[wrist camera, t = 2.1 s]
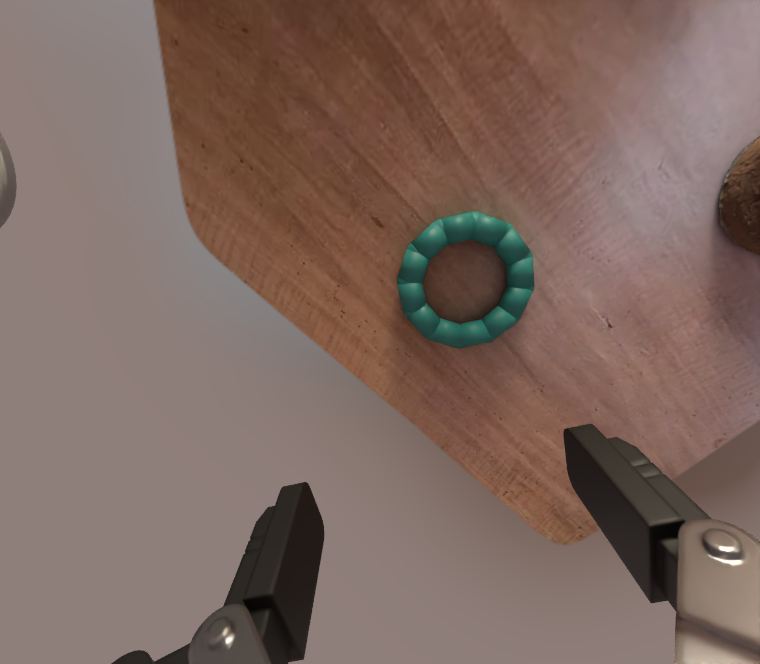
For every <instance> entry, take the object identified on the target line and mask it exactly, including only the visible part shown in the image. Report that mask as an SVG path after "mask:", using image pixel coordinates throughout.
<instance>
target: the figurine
mask: <svg viewBox="0 0 760 664" xmlns="http://www.w3.org/2000/svg"><path fill="white" fill-rule="evenodd" d="M725 177H726V178H724V181H725V182H724V185H723V187H722V189H721V193H720V194H721V195H720V198H719V205H720V208H719V209H720V220H719V222H720V224H721V225H722V226H723V228H724V229H725V231H726V232H727V233H728V235H729V236H730V238H731V240H733V242H734V243H736V244H737V245H738V246H741V247H743V248H745V249H746V250H749V251H751V252H754V253H756V254H758V255H760V137H759V138H757V139H756V140H754V142H753V143H751V144H750V145H749V146H748V147H747V148H745V149H744V150H743V151H742V153H740V154H739V156H738V157H737V159H735V161H734V162H733V166H732V168H731V169H730V170H728V174H726V175H725Z"/></svg>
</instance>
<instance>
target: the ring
mask: <svg viewBox="0 0 760 664" xmlns="http://www.w3.org/2000/svg"><path fill="white" fill-rule="evenodd" d="M470 239H472V240H475V241H478V242H481V243H484V244H486V245H489V246H492V247H493V248H494V250H495V251H496V252H497V253H498V255H499V256H500V257H501V258H502V260H503V261H504V262H505V265H506V275H507V287H506V289H505V292H504V294H503V296H502V299H501V301H500V303H499V305H498V306H497V307H496V308H495V309H493V310H492V311H491V312H490V313H488V314H487V315H486V316H485V317H483V318H482V319H481V320H477V321H472V322H467V323H462V324H458V323H455V322H452V321H448V320H445V319H442V318H439V317H438V315H437V314H436V313H435V312H434V311H433V310H432V309H431V308H430V306H429V305H428V304H427V303H426V299H425V294H424V288H423V283H422V281H423V278H424V276H425V273H426V270H427V267H428V265H429V262H430V260H431V259H432V258H433V257H434V256H435V255H436V254H438V253H439V252H440V251H441V250H442V249H443V248H444V247H446V246H447V245H448V244H452V243H456V242H461V241H466V240H470ZM397 286H398V290H399V295H400V300H401V305H402V310H403V313H404V315H405V316H406V318H407V319H408V320H409V321H410V322H411V323H412V324H413V325H414V326H415V327H416V328H417V329H418V331H419V332H420V333H421V334H422V335H423V336H424V337H425V338H427V339H429V340H432V341H435V342H438V343H442V344H445V345H448V346H451V347H455V348H463V347H469V346H474V345H479V344H484V343H489V342H492V341H494V340H495V339H496V338H497V337H499V336H500V335H501V334H503V333H504V332H505V331H506V330H508V329H509V328H510V327H512V326H513V325H514V324H515V323H517V322H518V321H519V320H520V318H521V316H522V314H523V312H524V310H525V308H526V306H527V303H528V301H529V299H530V297H531V295H532V293H533V290H534V273H533V260H532V253H531V251H530V249H529V248H528V246H527V245H526V244H525V243H524V241H523V240H522V239H521V237H520V236H519V235H518V233H517V232H516V231H515V229H514V228H513V227H512V225H511V224H509V223H507V222H505V221H502V220H499V219H496V218H493V217H490V216H488V215H485V214H482V213H479V212H475V211H473V212H468V213H463V214H458V215H454V216H449V217H445V218H440V219H438V220H436V221H434V222H433V223H432V224H431V225H430V226H429V227H428V228H427V229H425V230H424V231H423V232H422V233H421V234H420V235H419V236H418V237H417V238H415V239H414V240H413V241H412V242H411V243H410V244H409V246H408V248H407V250H406V253H405V256H404V259H403V262H402V265H401V268H400V271H399V274H398V277H397Z"/></svg>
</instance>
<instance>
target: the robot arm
mask: <svg viewBox="0 0 760 664" xmlns="http://www.w3.org/2000/svg"><path fill="white" fill-rule="evenodd" d="M564 444H565V453H566V463H567V471H568V475H569V479H570V481H571V484H572V486H573V488H574V490H575V492H576V493H577V495H578V496H579V498H580V499H581V501H582V502H583V504H584V505H585V507H586V508H587V510H588V511H589V513H590V514H591V516H592V517H593V518H594V520H595V521H596V523H597V524H598V526H599V527H600V529H601V530H602V532H603V533H604V535H605V536H606V538H607V539H608V541H609V542H610V543H611V545H612V546H613V548H614V549H615V551H616V552H617V554H618V555H619V557H620V558H621V560H622V561H623V563H624V564H625V566H626V567H627V569H628V570H629V572H630V573H631V574H632V576H633V577H634V579H635V580H636V582H637V583H638V585H639V586H640V588H641V589H642V591H643V592H644V594H645V595H646V597H647V598H648V600H649V601H650V603H655V602H662V601H669V603H670V604H671V605H672V607H673V608H674V609H675V611H676V626H675V627H676V628H675V662H674V664H760V542H759V541H758V540H757V539H756V538H755V537H753V536H752V535H751V534H749V533H748V532H746V531H744V530H743V529H741V528H739V527H737V526H734V525H732V524H729V523H726V522H723V521H719V520H714V519H711V518H710V517H709V516H708V515H707V514H706V513H705V512H704V511H703V510H702V509H701V508H699V506H698V505H697V504H696V503H694V502H693V501H692V500H691V499H690V498H689V497H688V496H687V495H686V494H685V493H684V492H683V491H682V490H681V489H680V488H679V487H678V486H676V485H675V484H674V483H673V482H672V481H671V480H670V479H669V478H668V477H667V476H666V475H665V474H662V472H661V470H660V469H659V468H658V467H657V466H655V465H654V464H653V463H651V462H650V460H649V459H648V458H647V457H646V456H645V455H644V454H643V453H642V452H641V451H640V450H639V449H638V448H637V447H635V446H633V445H631V444H629V443H627V442H625V441H623V440H621V439H619V438H617V437H615V438H610V439H607V438H606V437H605V436H604V435H603V434H602V433H601V432H600V431H599V430H598V429H597V428H596V427H595V426H594V425H592V424H586V425H581V426H577V427H572V428H567V429H564ZM250 538H251V539H250V541H249V542H248V545H247V547H246V550H245V554H244V555H243V557H242V560H241V563H240V565H239V568H238V570H237V573H236V576H235V578H234V580H233V583H232V585H231V588H230V591H229V593H228V596H227V598H226V601H225V603H224V606H223V607H222V608H220V609H218V610H217V611H215V612H214V613H212V614H211V615H210V616H209V617H208V618H207V619H206V620H205V621H204V622H203V623H202V624H201V626H200V627H199V628H198V630H197V631H196V633H195V635H194V637H193V638H192V641H191V643H189V644H188V645H186V646H184V647H182V648H180V649H178V650H176V651H174V652H173V653H171V654H168V655H166V656H165V657H163V658H161V659H159V660H157V661H155V662H154V661H153V660H152V658H151V657H150V655H149V654H148V653H147V652H145V651H140V650H138V651H133V652H130V653H128V654H126V655H124V656H122V657H120V658H119V659H117V660H116V661H114V662H113V663H112V664H288V662H292V661H298V660H303V659H304V655H305V649H306V643H307V637H308V631H309V625H310V619H311V614H312V607H313V602H314V596H315V590H316V584H317V578H318V572H319V565H320V560H321V554H322V548H323V542H324V525H323V520H322V517H321V515H320V512H319V509H318V507H317V504H316V502H315V499H314V496H313V494H312V491H311V489H310V486H309V485H308V483H307V482H303V483H298V484H294V485H289V486H284V487H282V488H281V490H280V493H279V496H278V499H277V502H276V505H275V506H272V507H268V508H267V509H266V510H265V512H264V513H263V515H261V517H260V518H259V519H258V521H257V522H256V524H255V527H254V529H253V532H252V535H251V537H250Z"/></svg>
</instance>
